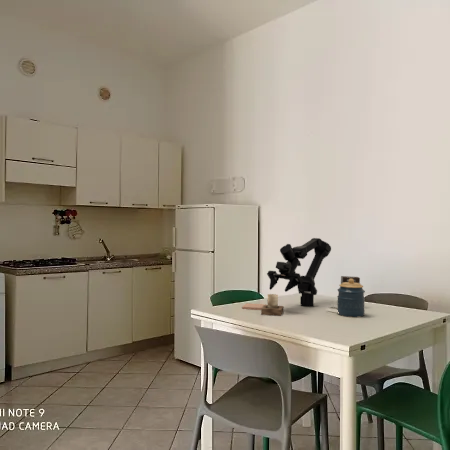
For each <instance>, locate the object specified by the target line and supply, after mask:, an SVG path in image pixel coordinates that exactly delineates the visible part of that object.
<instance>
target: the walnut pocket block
mask: <svg viewBox="0 0 450 450" xmlns="http://www.w3.org/2000/svg"><path fill="white" fill-rule="evenodd" d="M260 313H261V314H260V315H264V316H277V317H278V316H280V317H281V316H282V315H283V313H284V306H283V305H278V309H274V308H267V304H266V305H264V306H263V307H262V308H261V310H260Z"/></svg>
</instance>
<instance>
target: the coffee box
mask: <svg viewBox="0 0 450 450" xmlns="http://www.w3.org/2000/svg"><path fill="white" fill-rule="evenodd" d="M349 279H353V280H354V283H360V282H361V281H360V280H361V278H360V277H358V276H347V275H346V276H344V275H341V276H340V284H342V283H343V282H349ZM360 284H361V283H360Z"/></svg>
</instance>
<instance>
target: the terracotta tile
mask: <svg viewBox="0 0 450 450" xmlns="http://www.w3.org/2000/svg"><path fill="white" fill-rule="evenodd" d="M264 305H267V303H266V304H265V303H245V304H244V305H242V307H241V309H242V310H254V311H256V310H257V311H261V308H262V307H263V306H264Z"/></svg>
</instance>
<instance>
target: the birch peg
mask: <svg viewBox="0 0 450 450" xmlns="http://www.w3.org/2000/svg"><path fill="white" fill-rule="evenodd" d="M278 303H279V295H278V294H276V293H269V294H267V303H266V305H267V308H274V309H278V306H279V305H278Z"/></svg>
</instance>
